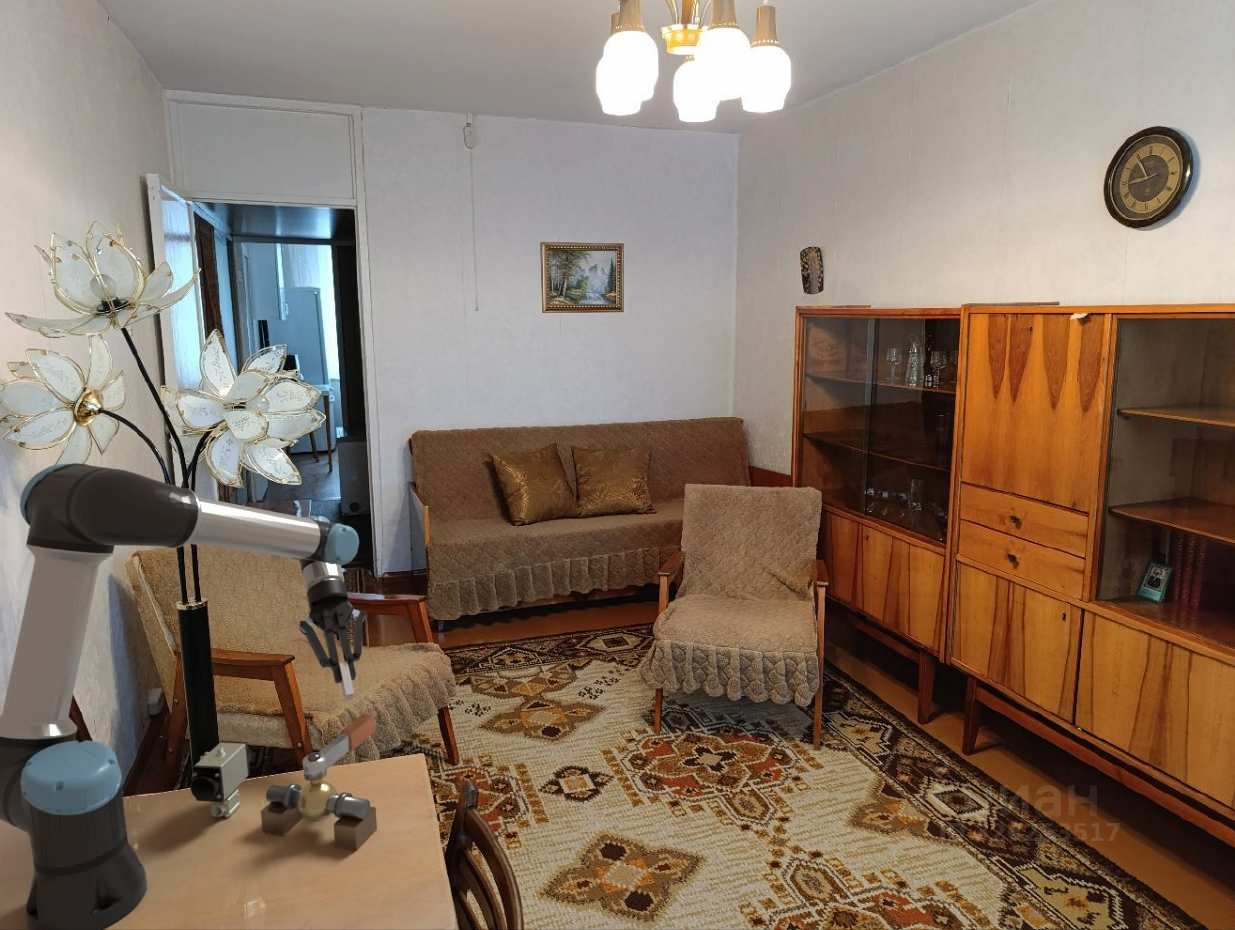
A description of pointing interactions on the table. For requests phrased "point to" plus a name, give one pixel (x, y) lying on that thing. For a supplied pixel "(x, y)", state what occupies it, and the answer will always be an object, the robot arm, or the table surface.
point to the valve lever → (338, 747)
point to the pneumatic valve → (221, 776)
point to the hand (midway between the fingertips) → (349, 696)
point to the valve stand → (319, 811)
